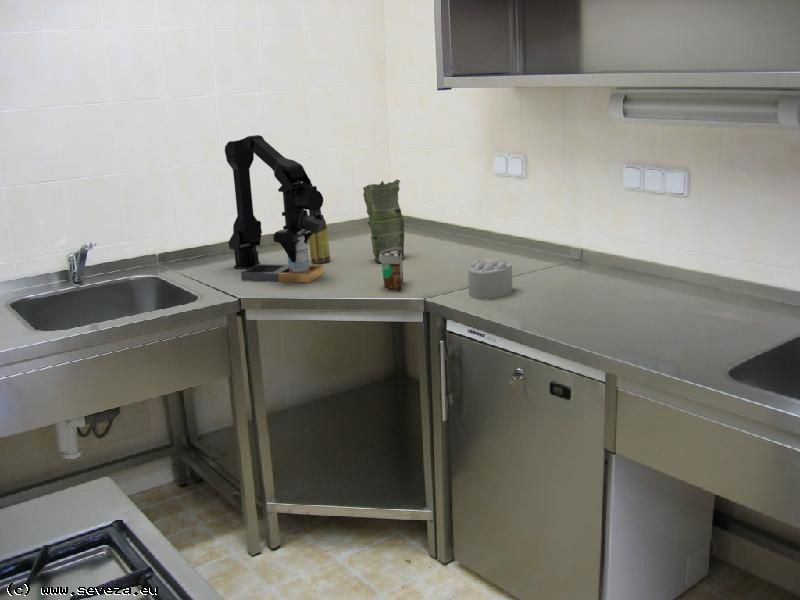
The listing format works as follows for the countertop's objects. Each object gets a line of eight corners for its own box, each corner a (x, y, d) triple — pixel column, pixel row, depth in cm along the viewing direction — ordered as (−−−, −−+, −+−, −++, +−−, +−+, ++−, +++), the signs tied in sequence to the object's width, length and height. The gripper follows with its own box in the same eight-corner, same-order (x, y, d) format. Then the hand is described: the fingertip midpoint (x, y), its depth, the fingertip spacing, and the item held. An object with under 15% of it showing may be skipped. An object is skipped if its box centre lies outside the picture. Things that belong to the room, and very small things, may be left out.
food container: (382, 281, 241) (379, 247, 239) (403, 280, 241) (401, 246, 238) (378, 293, 230) (376, 257, 227) (401, 292, 229) (399, 256, 226)
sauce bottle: (332, 259, 273) (327, 198, 267) (328, 263, 267) (323, 201, 261) (312, 260, 273) (307, 199, 268) (308, 264, 267) (302, 202, 262)
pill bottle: (289, 271, 254) (286, 234, 251) (309, 269, 254) (306, 233, 251) (289, 276, 248) (285, 238, 245) (309, 274, 248) (306, 237, 245)
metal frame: (241, 280, 251) (240, 272, 251) (258, 271, 261) (257, 263, 261) (309, 282, 245) (308, 274, 244) (324, 273, 255) (323, 265, 254)
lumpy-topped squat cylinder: (516, 288, 227) (516, 257, 224) (496, 301, 216) (495, 268, 214) (481, 285, 232) (481, 254, 230) (460, 297, 221) (459, 265, 219)
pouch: (366, 264, 263) (361, 184, 257) (373, 255, 275) (368, 179, 268) (401, 263, 262) (397, 183, 255) (407, 255, 273) (403, 177, 266)
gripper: (306, 213, 235) (310, 268, 239) (331, 202, 252) (335, 253, 256) (270, 213, 238) (275, 267, 242) (297, 202, 255) (301, 252, 259)
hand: (298, 259), depth 250 cm, fingers closed on pill bottle, 6 cm apart
